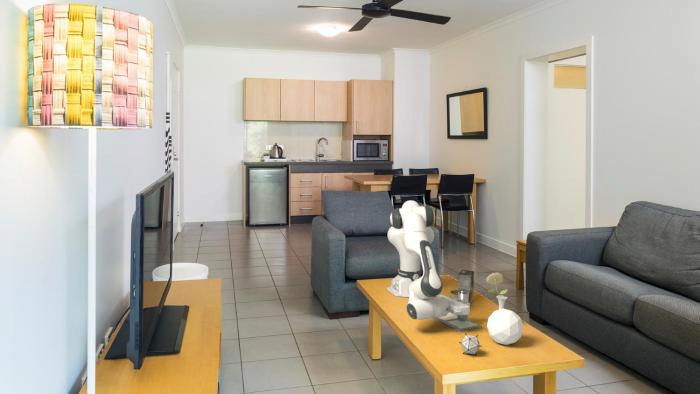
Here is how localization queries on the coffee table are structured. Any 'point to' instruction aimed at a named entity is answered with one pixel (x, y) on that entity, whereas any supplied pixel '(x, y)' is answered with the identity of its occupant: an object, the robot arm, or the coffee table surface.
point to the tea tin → (463, 299)
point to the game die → (470, 344)
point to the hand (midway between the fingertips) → (464, 302)
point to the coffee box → (466, 282)
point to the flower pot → (454, 294)
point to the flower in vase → (495, 280)
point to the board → (457, 322)
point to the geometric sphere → (505, 326)
